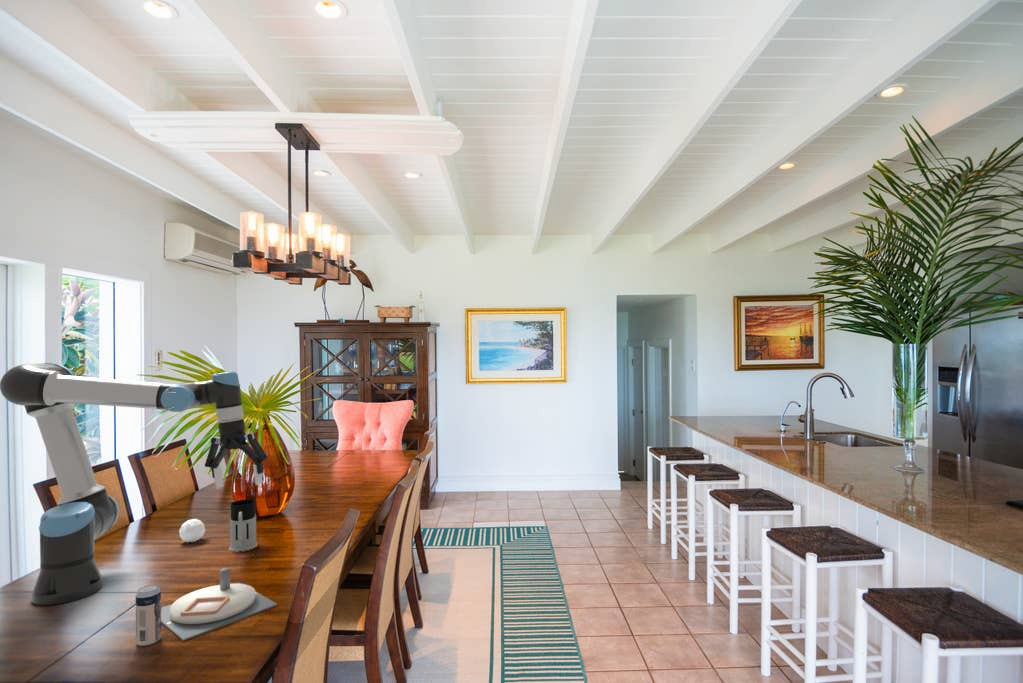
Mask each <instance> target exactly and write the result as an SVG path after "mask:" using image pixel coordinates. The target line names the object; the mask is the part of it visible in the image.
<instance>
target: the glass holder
mask: <svg viewBox="0 0 1023 683" xmlns="http://www.w3.org/2000/svg"><path fill="white" fill-rule="evenodd" d="M229 525H230V526H229V529H230V530H229V532H230V534H229V536H230V537H229V538H230V545H229V548H228V551H230V550H231V551H230V552H232V551H235V553H237V552H238V553H240V552H239V551H242V552H246V550H247V551H251V550H253V548H254V549H256V548H257V547H258V546H257V545H258V541H257V513H256V500H255V499H239V500H235V501H232V502H231V503H230V517H229ZM255 547H256V548H255ZM250 549H251V550H250Z"/></svg>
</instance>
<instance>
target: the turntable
mask: <svg viewBox="0 0 1023 683" xmlns="http://www.w3.org/2000/svg"><path fill="white" fill-rule="evenodd" d="M255 592H256V589H255V588H254V587H253V586H251V585H249V584H245V583H241V584H235V583H231V568H230V567H224V568H220V569H219V584H217V585H211V586H207V587H203V588H200V589H196V590H193V591H192V592H188V593H187V594H185V595H183V596H181V597H179V598H178V599H176V600H175V601H173V603H172V606H171V608H170V617H171V619H172V620H173V621H175V622H177V623H181V624H202V623H209V622H214V621H218V620H222V619H225V618H228V617H231V616H233V615H236V614H238V613H240V612H242V611H244V610H245V609H247V608H248V607H250V606H251V605H252V604H253V603H254V601H255Z"/></svg>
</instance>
